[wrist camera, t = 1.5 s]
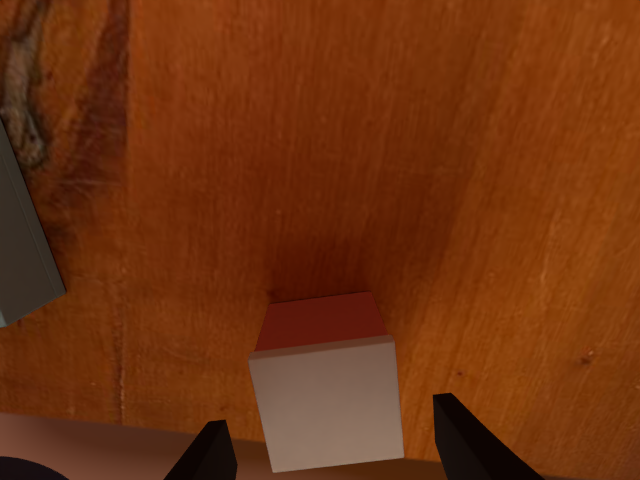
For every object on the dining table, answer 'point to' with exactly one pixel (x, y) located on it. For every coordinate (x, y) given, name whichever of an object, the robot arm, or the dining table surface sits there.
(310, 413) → the two-tone cube
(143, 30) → the dining table surface
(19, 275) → the shallow rectangular tray
